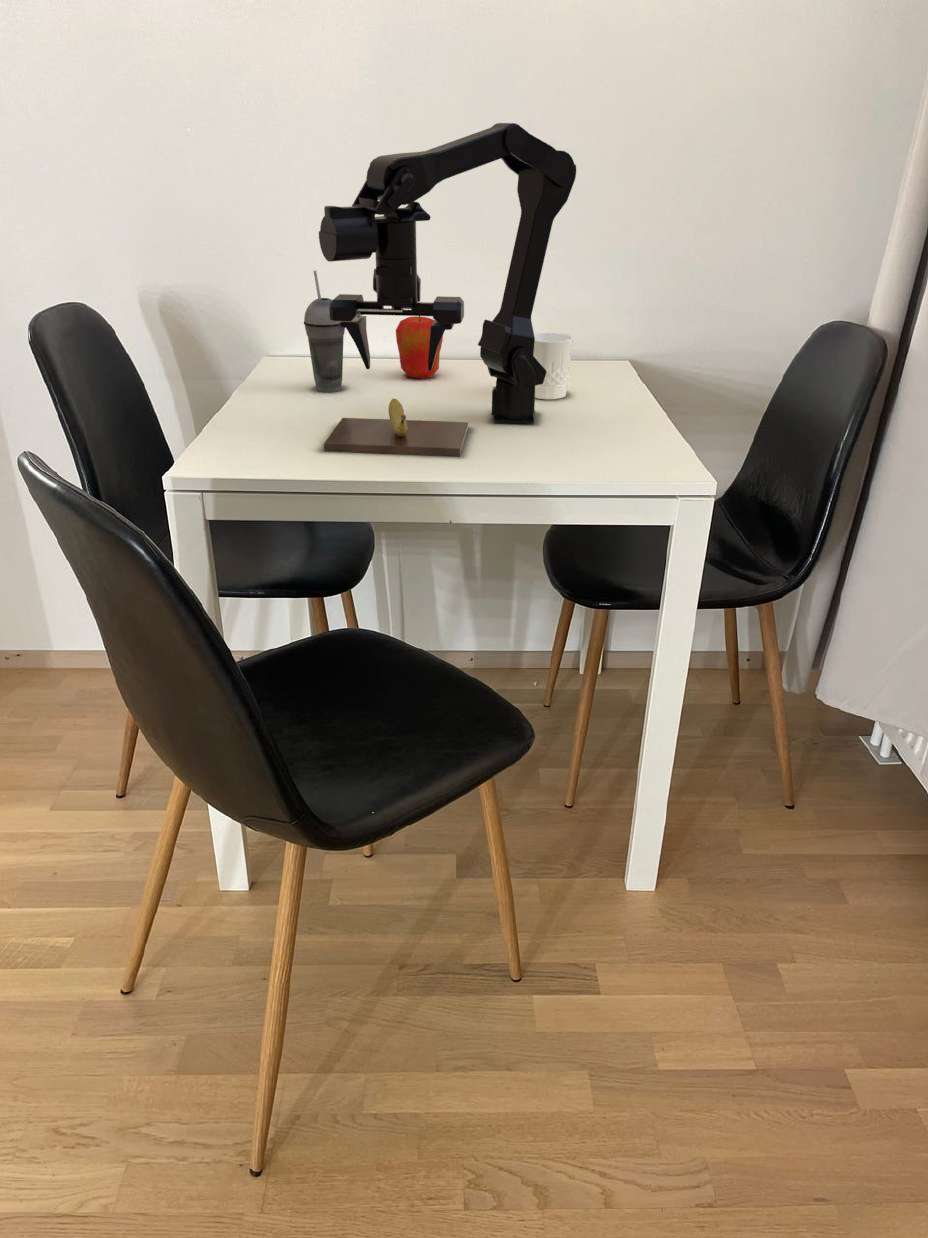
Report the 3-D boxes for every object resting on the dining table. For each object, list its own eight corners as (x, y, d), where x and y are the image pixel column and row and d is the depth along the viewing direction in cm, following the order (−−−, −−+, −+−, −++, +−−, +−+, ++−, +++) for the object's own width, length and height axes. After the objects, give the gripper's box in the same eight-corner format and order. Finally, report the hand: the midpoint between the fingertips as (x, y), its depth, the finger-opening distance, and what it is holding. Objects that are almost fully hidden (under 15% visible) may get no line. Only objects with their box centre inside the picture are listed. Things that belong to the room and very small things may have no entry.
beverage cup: (342, 395, 162) (335, 274, 152) (302, 392, 163) (293, 273, 153) (354, 384, 168) (348, 268, 158) (316, 382, 169) (308, 266, 159)
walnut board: (468, 429, 145) (468, 422, 144) (459, 456, 134) (460, 448, 133) (342, 424, 146) (342, 417, 146) (324, 451, 135) (323, 443, 135)
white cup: (518, 397, 161) (520, 339, 156) (532, 386, 168) (535, 330, 163) (561, 402, 159) (565, 343, 154) (574, 391, 165) (578, 334, 160)
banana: (387, 422, 144) (386, 397, 142) (402, 421, 144) (402, 396, 142) (395, 442, 135) (394, 415, 133) (411, 441, 135) (411, 415, 133)
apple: (388, 377, 173) (386, 312, 167) (413, 368, 179) (412, 305, 173) (426, 384, 169) (425, 317, 163) (451, 374, 175) (451, 310, 169)
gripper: (467, 250, 135) (466, 358, 142) (341, 247, 136) (347, 355, 144) (460, 261, 125) (460, 376, 133) (325, 258, 126) (332, 372, 134)
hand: (399, 369), depth 136 cm, fingers open, 9 cm apart
